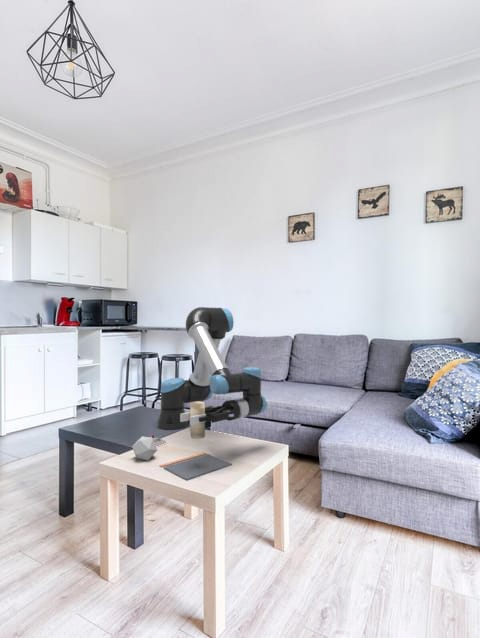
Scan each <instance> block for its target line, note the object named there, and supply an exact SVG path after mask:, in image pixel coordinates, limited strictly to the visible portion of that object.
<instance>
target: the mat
mask: <svg viewBox="0 0 480 638" xmlns="http://www.w3.org/2000/svg"><path fill="white" fill-rule="evenodd" d="M232 465H233V463H231V462H228V461H227V460H224V459H222V458H219V457H216V456H214V455H212V454H209V453H206V454H205V455H202V456H198V457H195V458H192V459H188V460H185V461H182V462H178V463H175V464H172V465H168V466H165V467H163V470H165V471H168V472H170V473H172V474H173V475H175V476H177V477H179V478H181V479H183V480H184V481H186V482H187V481H190V480H193V479H195V478H198V477H201V476H204V475H208V474H210V473H212V472H215V471H218V470H221V469H224V468H226V467H227V468H228V467H230V466H232Z"/></svg>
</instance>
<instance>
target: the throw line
mask: <svg viewBox="0 0 480 638" xmlns="http://www.w3.org/2000/svg"><path fill="white" fill-rule="evenodd" d="M206 454H207V453H206V452H201V453H197V454H194V455H190V456H187V457H182V458H181V459H176V460H173V461H169V462H166V463H163V464H159V467H161V468H164V467H166V466H169V465H173V464H176V463H180V462H183V461H186V460H190V459H193V458H196V457H200V456H203V455H206Z"/></svg>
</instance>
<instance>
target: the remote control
mask: <svg viewBox="0 0 480 638" xmlns="http://www.w3.org/2000/svg"><path fill="white" fill-rule="evenodd" d="M149 437H150V438H153V440H154V443H155V445H156V446H158V447H160V446H159V445H161V444H164V443H166V442H167V441H166V439H161V438H158V437H155V435H154V434H152V435H151V436H149ZM164 445H165V444H164ZM161 446H162V445H161Z"/></svg>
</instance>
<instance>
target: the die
mask: <svg viewBox="0 0 480 638" xmlns="http://www.w3.org/2000/svg"><path fill="white" fill-rule="evenodd" d="M150 437H151V436H149V437H147V436H141V437H140V438H138V439H137V441H136V442H135V443H133V445H132V450H133V452H134V454H135V457H136V459H137V460H141V459H142V461H149V460H150V459H151V458H152V457H153V456H154V455H155V454H156V453H157V451H158V447H156V445H155V443H154V440H153V438H150Z"/></svg>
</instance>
